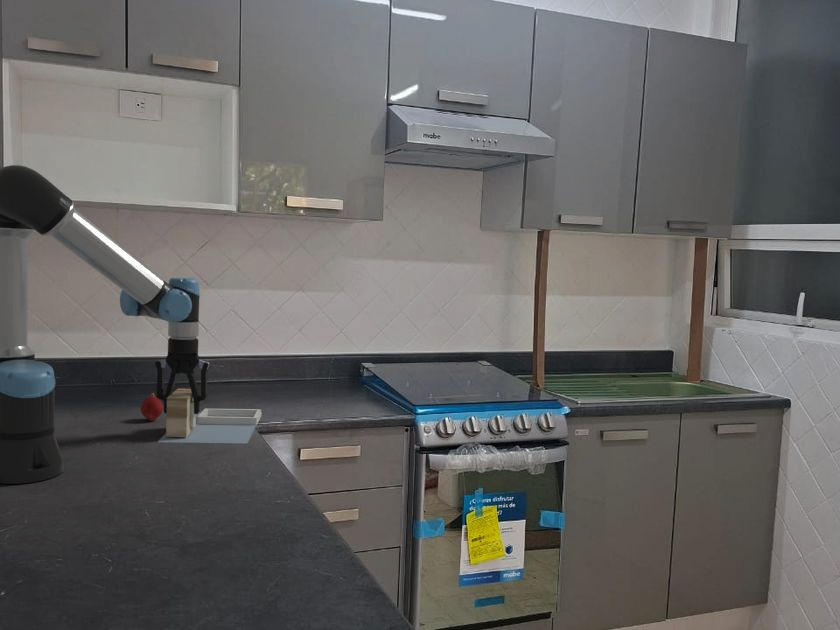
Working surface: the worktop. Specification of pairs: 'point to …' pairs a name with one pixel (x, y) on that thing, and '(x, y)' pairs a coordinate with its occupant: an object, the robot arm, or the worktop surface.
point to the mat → (214, 434)
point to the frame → (234, 416)
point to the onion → (151, 408)
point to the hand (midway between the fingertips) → (181, 425)
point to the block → (179, 413)
